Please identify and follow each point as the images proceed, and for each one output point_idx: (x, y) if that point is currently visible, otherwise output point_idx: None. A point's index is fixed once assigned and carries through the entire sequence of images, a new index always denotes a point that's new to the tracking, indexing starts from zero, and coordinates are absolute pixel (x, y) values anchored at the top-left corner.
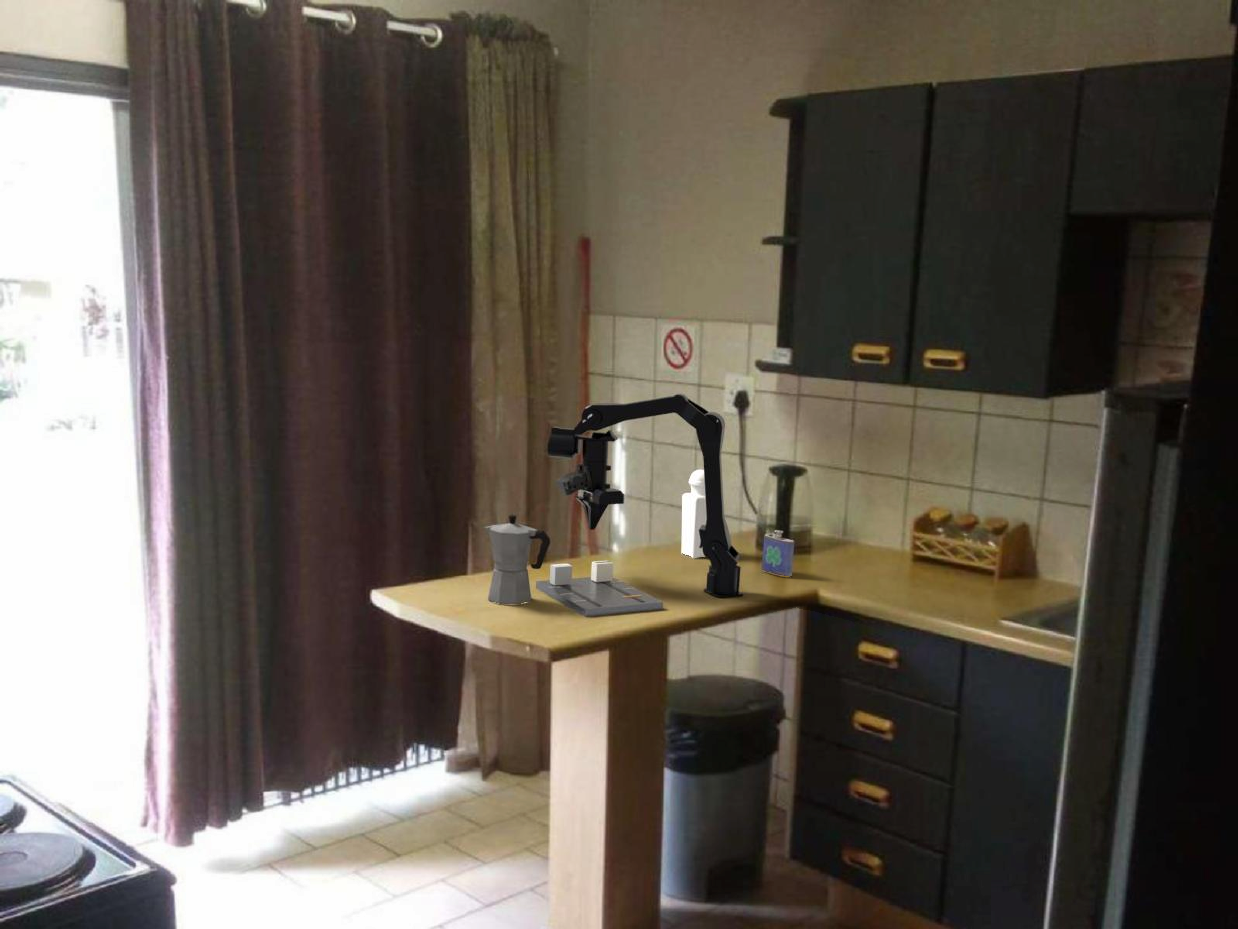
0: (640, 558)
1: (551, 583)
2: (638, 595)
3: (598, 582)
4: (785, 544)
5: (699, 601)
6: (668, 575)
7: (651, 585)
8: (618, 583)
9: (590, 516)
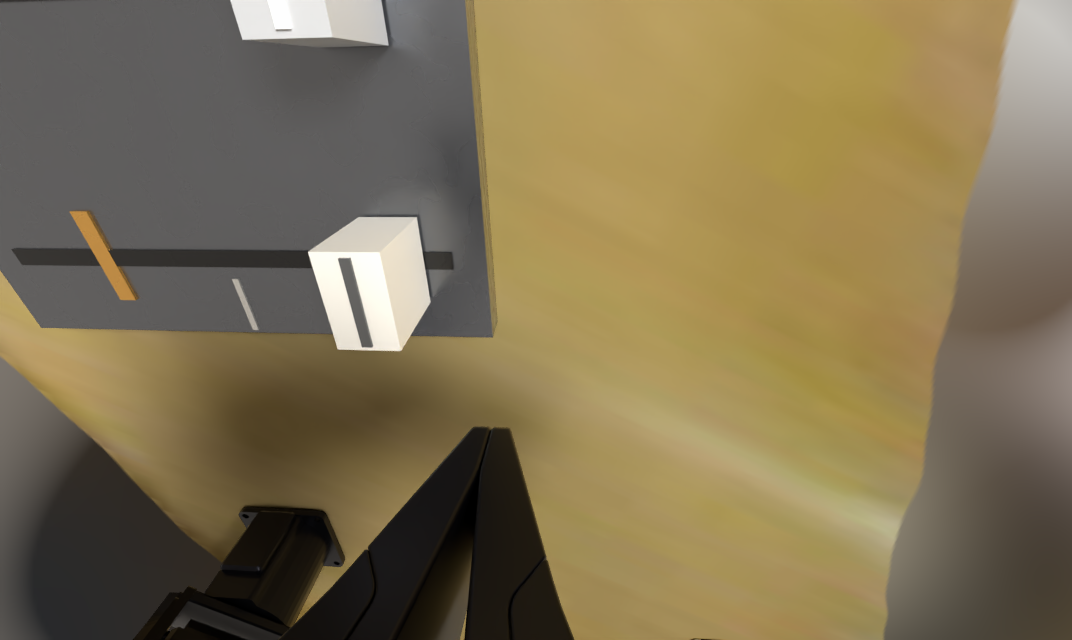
0: (782, 555)
1: None
2: (121, 286)
3: None
4: None
5: (206, 453)
6: None
7: (419, 429)
8: None
9: (371, 545)
